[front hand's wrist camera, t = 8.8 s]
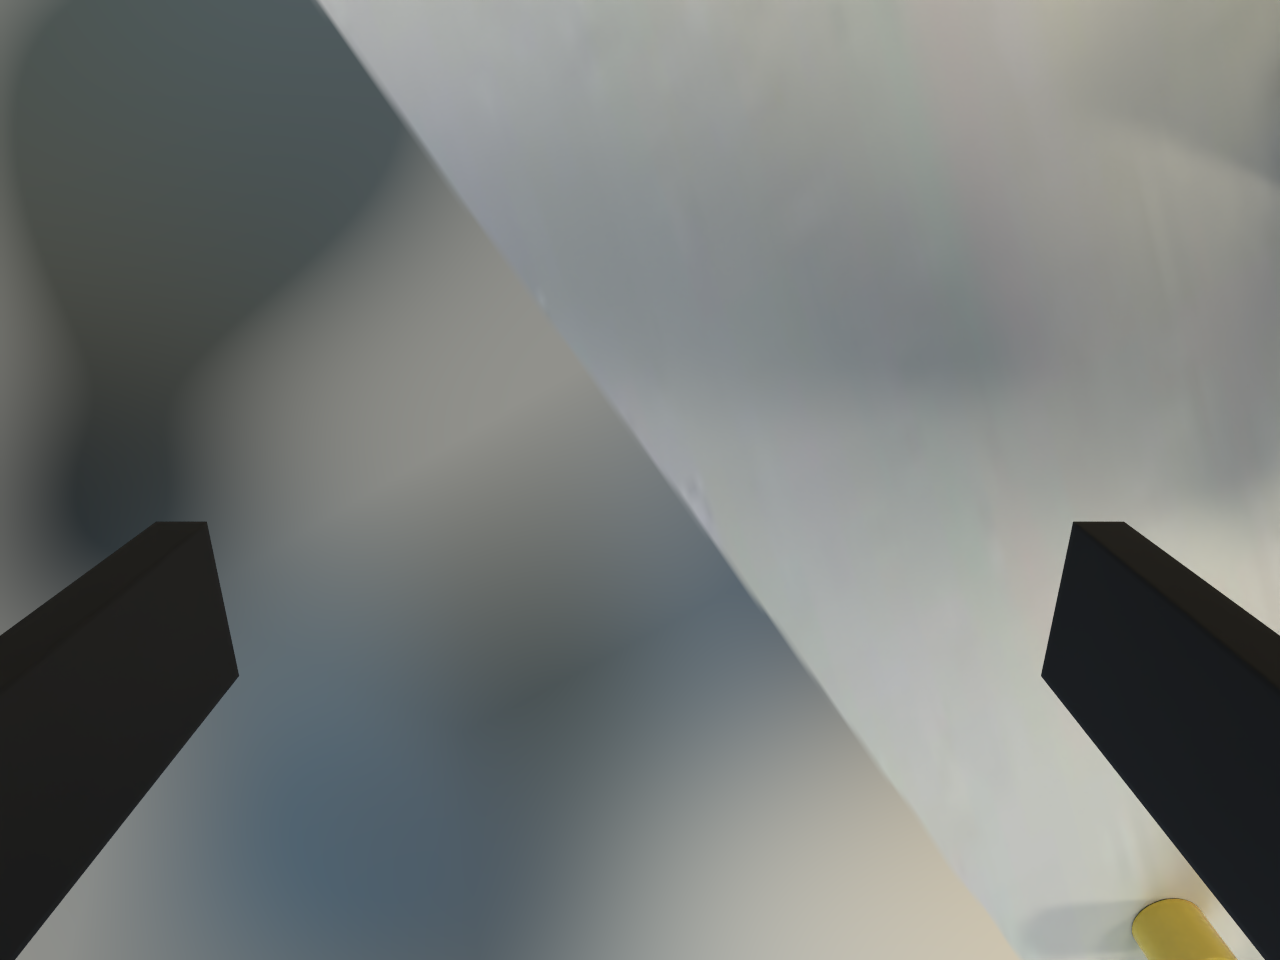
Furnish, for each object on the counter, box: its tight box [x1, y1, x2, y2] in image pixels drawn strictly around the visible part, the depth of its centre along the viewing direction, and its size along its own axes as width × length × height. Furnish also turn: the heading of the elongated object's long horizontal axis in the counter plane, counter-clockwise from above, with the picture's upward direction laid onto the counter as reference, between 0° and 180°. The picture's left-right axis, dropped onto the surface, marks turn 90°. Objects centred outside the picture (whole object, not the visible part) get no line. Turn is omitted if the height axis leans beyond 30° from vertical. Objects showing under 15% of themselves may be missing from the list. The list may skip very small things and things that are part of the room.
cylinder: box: [1132, 899, 1238, 960], centre depth 59 cm, size 5×5×5 cm
